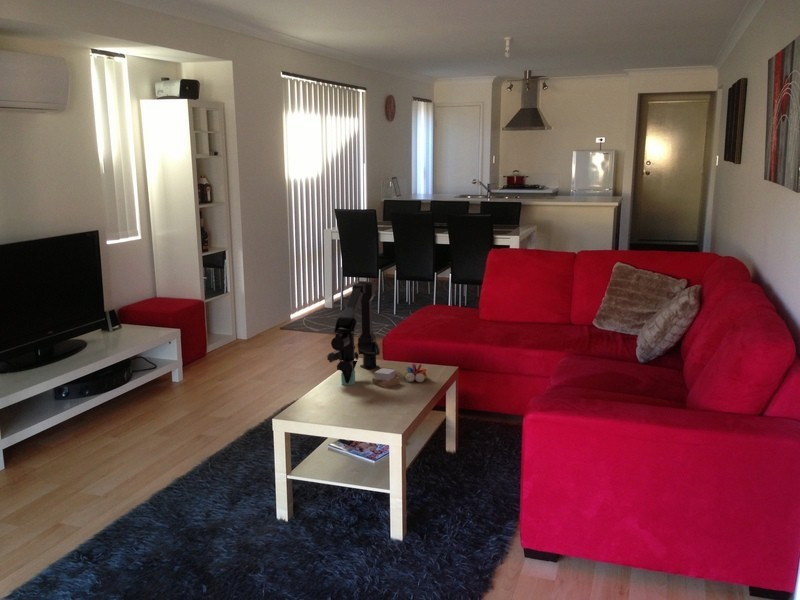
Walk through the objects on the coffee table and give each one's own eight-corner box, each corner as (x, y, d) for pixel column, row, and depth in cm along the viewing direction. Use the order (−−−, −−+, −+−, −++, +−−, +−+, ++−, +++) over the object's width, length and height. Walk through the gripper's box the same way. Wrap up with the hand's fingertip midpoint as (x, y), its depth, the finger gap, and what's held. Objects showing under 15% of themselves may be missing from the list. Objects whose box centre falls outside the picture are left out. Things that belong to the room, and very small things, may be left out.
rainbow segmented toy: (426, 383, 294) (425, 367, 293) (403, 382, 296) (402, 366, 294) (428, 377, 302) (428, 361, 301) (406, 377, 304) (405, 360, 302)
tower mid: (374, 379, 292) (374, 372, 292) (382, 374, 298) (382, 368, 298) (388, 381, 290) (388, 374, 289) (395, 376, 295) (395, 369, 295)
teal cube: (341, 385, 294) (341, 373, 293) (343, 381, 299) (343, 370, 298) (353, 385, 293) (353, 373, 292) (355, 381, 298) (355, 370, 297)
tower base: (372, 384, 294) (372, 378, 294) (386, 380, 300) (386, 373, 299) (385, 389, 289) (385, 382, 288) (399, 384, 294) (399, 377, 294)
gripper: (332, 339, 303) (333, 374, 306) (324, 350, 284) (325, 387, 287) (358, 339, 302) (359, 374, 305) (351, 350, 283) (352, 387, 286)
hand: (348, 380), depth 296 cm, fingers open, 6 cm apart
